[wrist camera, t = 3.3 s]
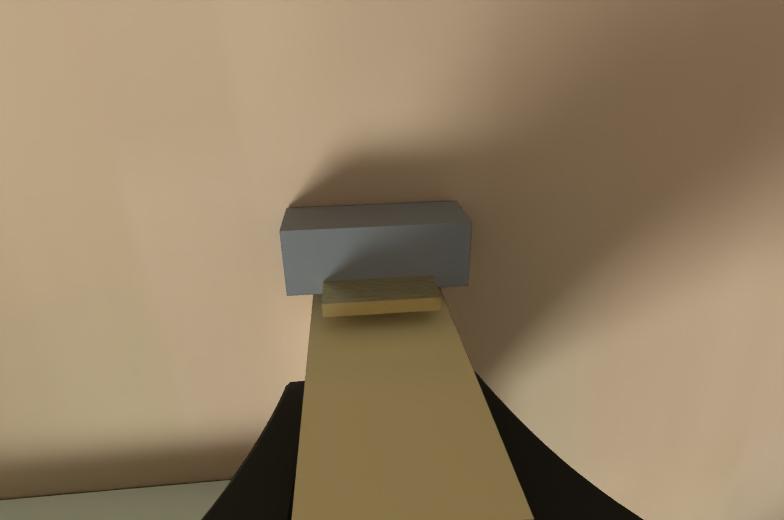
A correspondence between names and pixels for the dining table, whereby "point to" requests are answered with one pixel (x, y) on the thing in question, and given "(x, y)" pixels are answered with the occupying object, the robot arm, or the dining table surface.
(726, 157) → the dining table surface
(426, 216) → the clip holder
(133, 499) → the tray
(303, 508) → the carton
